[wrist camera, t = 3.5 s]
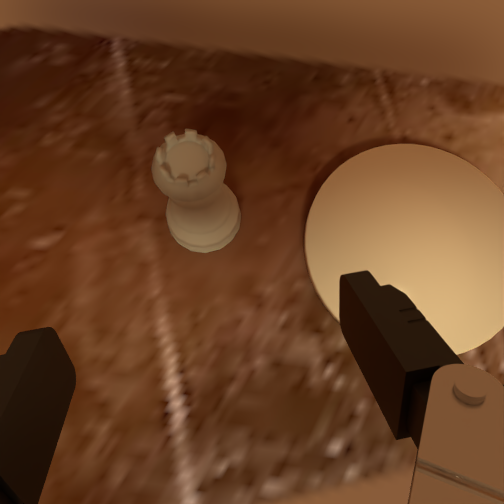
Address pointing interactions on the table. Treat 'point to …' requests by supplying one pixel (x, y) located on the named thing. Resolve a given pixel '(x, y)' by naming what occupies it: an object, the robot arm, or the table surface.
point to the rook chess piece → (196, 191)
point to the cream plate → (414, 237)
